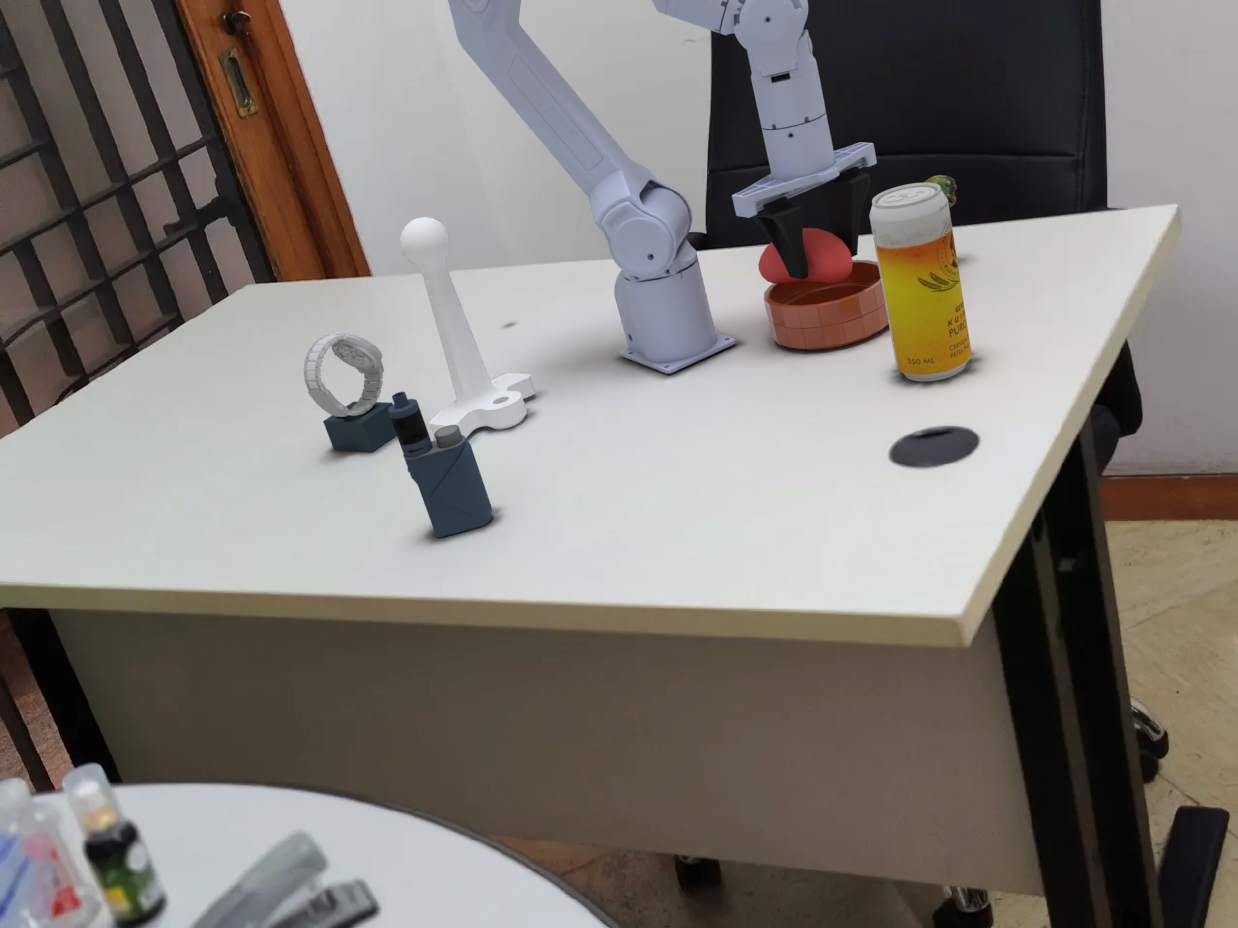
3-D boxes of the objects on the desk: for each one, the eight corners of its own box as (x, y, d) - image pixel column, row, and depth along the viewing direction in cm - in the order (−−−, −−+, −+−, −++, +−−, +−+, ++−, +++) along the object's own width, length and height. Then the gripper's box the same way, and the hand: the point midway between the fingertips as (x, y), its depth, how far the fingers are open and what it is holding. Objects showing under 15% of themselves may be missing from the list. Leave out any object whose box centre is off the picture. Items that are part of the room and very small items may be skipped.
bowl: (749, 340, 124) (739, 296, 122) (844, 296, 128) (835, 253, 126) (823, 363, 114) (814, 315, 112) (923, 315, 118) (915, 268, 116)
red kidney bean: (811, 277, 126) (768, 231, 124) (872, 248, 118) (827, 199, 116) (787, 313, 123) (742, 267, 122) (848, 287, 116) (802, 238, 114)
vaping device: (432, 526, 104) (384, 393, 99) (495, 509, 104) (449, 375, 99) (430, 541, 102) (381, 405, 97) (494, 523, 102) (448, 386, 97)
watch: (415, 422, 127) (379, 319, 123) (359, 460, 121) (319, 354, 117) (376, 420, 130) (339, 320, 126) (320, 458, 125) (279, 354, 120)
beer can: (974, 377, 103) (946, 197, 97) (897, 389, 105) (865, 212, 99) (971, 348, 108) (944, 175, 102) (898, 360, 110) (867, 190, 104)
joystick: (507, 392, 128) (445, 198, 120) (561, 397, 123) (500, 195, 115) (427, 444, 121) (355, 241, 113) (481, 450, 116) (410, 239, 108)
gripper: (752, 148, 107) (786, 301, 112) (887, 94, 112) (912, 243, 117) (707, 145, 113) (741, 290, 118) (836, 94, 118) (863, 235, 123)
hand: (823, 266), depth 118 cm, fingers closed on red kidney bean, 5 cm apart
